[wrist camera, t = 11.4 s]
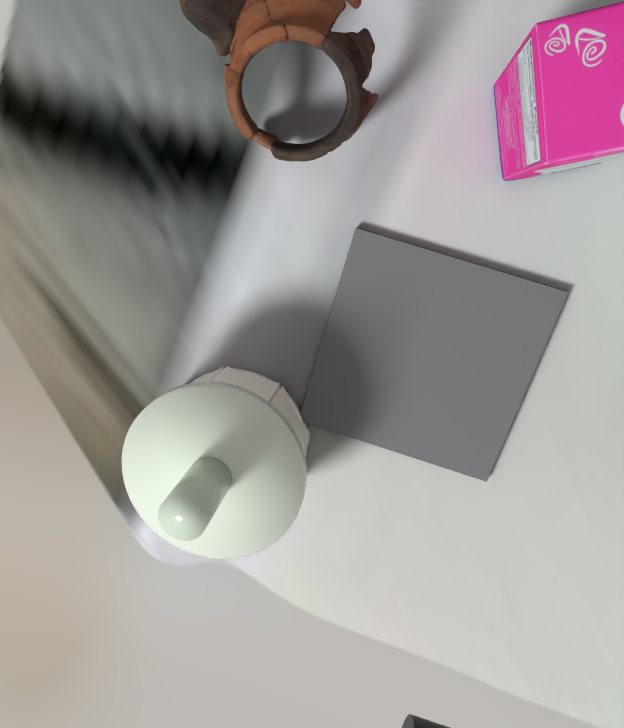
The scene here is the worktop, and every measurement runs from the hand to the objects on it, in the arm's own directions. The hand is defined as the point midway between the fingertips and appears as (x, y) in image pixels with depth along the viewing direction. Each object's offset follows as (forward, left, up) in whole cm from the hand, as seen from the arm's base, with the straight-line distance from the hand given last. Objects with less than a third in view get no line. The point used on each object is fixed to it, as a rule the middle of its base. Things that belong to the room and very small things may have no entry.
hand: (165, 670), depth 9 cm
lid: (+5, +11, -25) cm, 28 cm away
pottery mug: (+8, -14, -31) cm, 35 cm away
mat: (-6, +1, -31) cm, 31 cm away
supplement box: (-8, -15, -31) cm, 35 cm away
